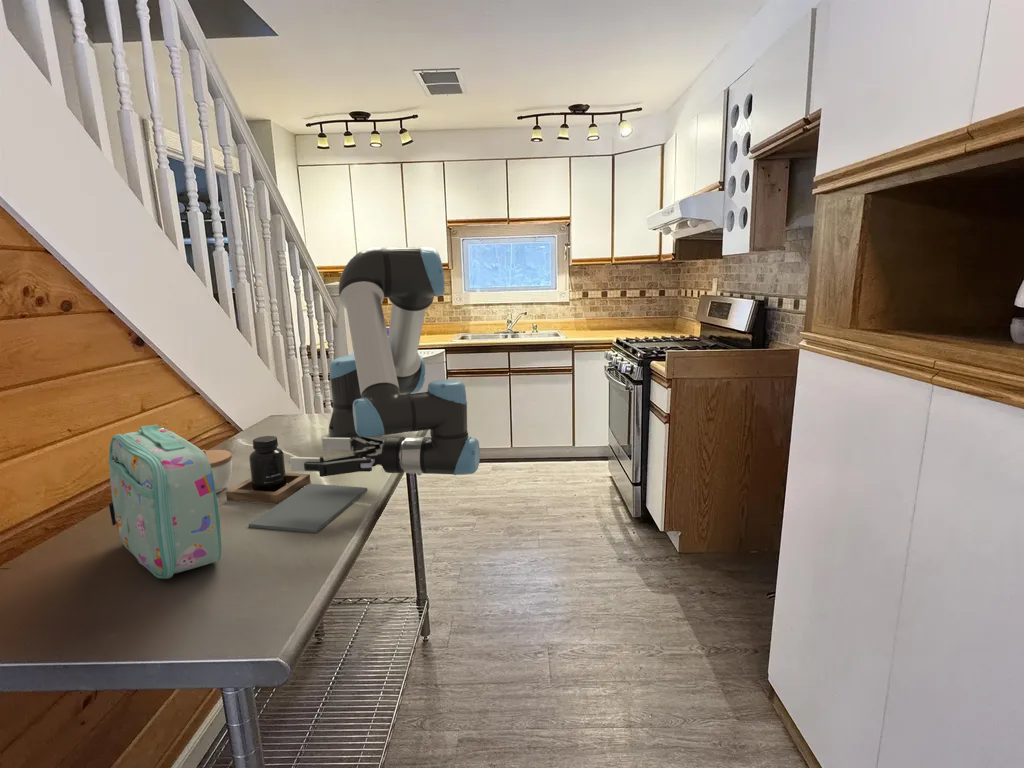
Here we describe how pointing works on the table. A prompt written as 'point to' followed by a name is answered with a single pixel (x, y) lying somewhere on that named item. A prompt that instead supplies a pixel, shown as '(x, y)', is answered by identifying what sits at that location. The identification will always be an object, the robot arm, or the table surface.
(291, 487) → the walnut collar
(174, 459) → the lunch box
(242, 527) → the table surface
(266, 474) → the supplement bottle
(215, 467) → the lidded jar
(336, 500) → the slate mat
